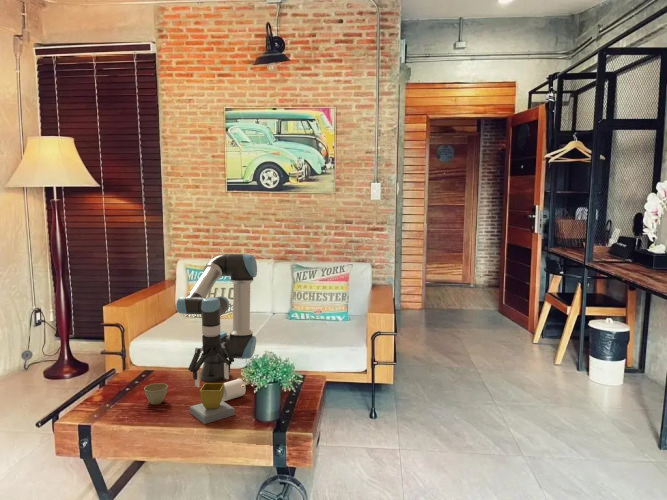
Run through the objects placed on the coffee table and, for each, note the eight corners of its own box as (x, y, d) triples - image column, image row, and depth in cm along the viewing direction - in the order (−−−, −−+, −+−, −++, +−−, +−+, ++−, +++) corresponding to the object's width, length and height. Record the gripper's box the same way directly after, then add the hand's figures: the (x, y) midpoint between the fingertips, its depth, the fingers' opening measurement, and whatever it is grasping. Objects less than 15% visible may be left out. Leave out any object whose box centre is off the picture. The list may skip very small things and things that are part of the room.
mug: (245, 397, 225) (245, 381, 224) (227, 403, 218) (227, 386, 217) (231, 390, 233) (231, 374, 232) (213, 395, 226) (213, 379, 226)
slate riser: (219, 404, 216) (219, 397, 216) (234, 414, 206) (234, 408, 206) (189, 412, 207) (189, 406, 207) (204, 424, 197) (204, 417, 197)
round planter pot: (160, 407, 212) (159, 392, 211) (139, 405, 214) (139, 390, 213) (172, 399, 222) (171, 384, 221) (152, 397, 224) (152, 382, 223)
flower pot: (199, 411, 202) (199, 390, 201) (204, 402, 211) (204, 382, 210) (220, 411, 202) (220, 390, 202) (224, 402, 211) (224, 383, 210)
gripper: (233, 327, 214) (233, 373, 217) (179, 337, 198) (180, 386, 201) (241, 331, 209) (242, 377, 211) (187, 342, 192) (188, 392, 195)
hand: (212, 382), depth 206 cm, fingers open, 13 cm apart
